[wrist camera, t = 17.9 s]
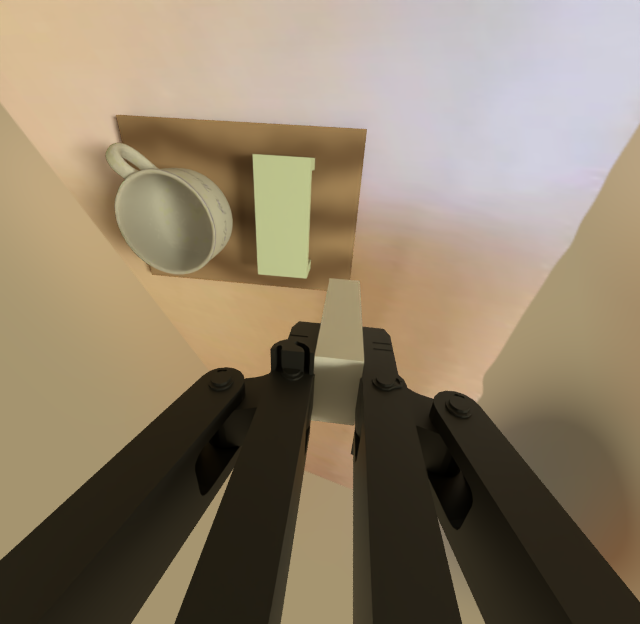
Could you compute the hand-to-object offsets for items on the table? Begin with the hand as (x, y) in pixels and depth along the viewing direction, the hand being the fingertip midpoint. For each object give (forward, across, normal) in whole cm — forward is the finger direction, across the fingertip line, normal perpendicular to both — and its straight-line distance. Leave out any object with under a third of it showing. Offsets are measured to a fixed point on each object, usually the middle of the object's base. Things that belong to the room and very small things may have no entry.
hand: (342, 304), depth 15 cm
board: (+24, -13, 0) cm, 28 cm away
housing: (+23, -7, 0) cm, 24 cm away
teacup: (+23, -20, +1) cm, 30 cm away
